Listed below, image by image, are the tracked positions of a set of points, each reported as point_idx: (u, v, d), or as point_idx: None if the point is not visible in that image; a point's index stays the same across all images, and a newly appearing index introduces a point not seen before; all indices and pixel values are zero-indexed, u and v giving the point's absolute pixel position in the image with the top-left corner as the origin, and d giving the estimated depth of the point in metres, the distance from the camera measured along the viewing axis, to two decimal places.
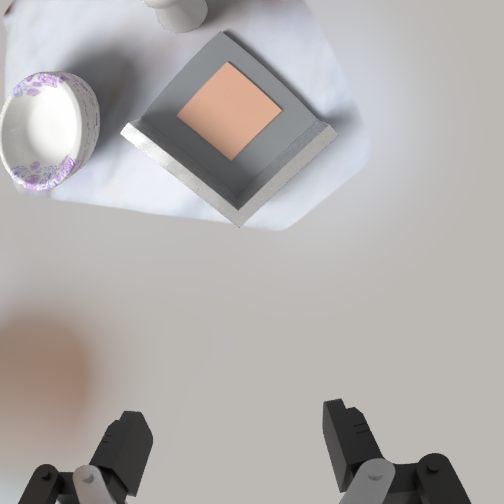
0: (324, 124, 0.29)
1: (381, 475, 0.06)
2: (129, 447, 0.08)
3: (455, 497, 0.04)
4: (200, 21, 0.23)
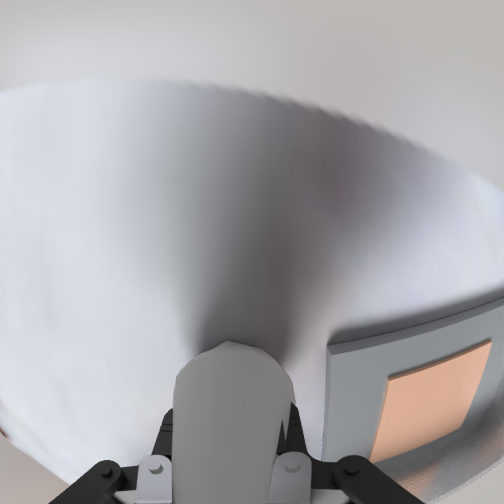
0: None
1: (298, 466, 0.07)
2: None
3: (389, 491, 0.05)
4: (293, 398, 0.11)
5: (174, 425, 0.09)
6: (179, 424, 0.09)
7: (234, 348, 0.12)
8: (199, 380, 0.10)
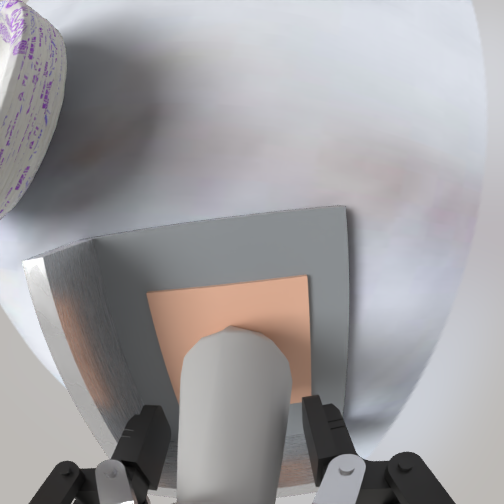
0: None
1: (352, 470, 0.06)
2: (150, 440, 0.09)
3: (433, 493, 0.04)
4: (289, 377, 0.13)
5: (181, 399, 0.10)
6: (186, 397, 0.10)
7: (236, 331, 0.13)
8: (204, 358, 0.12)
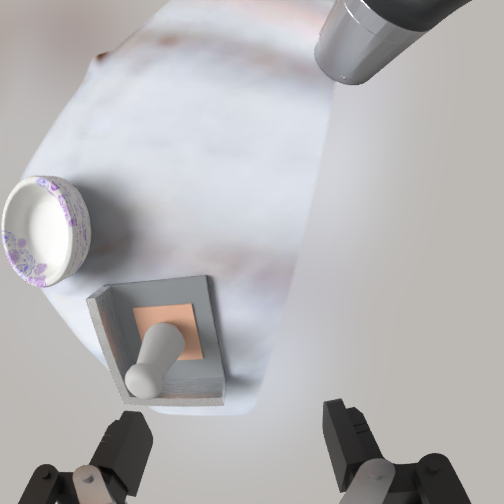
0: (220, 391, 0.37)
1: (381, 475, 0.06)
2: (129, 447, 0.08)
3: (455, 497, 0.04)
4: (181, 341, 0.36)
5: (142, 344, 0.33)
6: (143, 343, 0.33)
7: (163, 323, 0.36)
8: (150, 332, 0.34)
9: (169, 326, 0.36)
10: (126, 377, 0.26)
